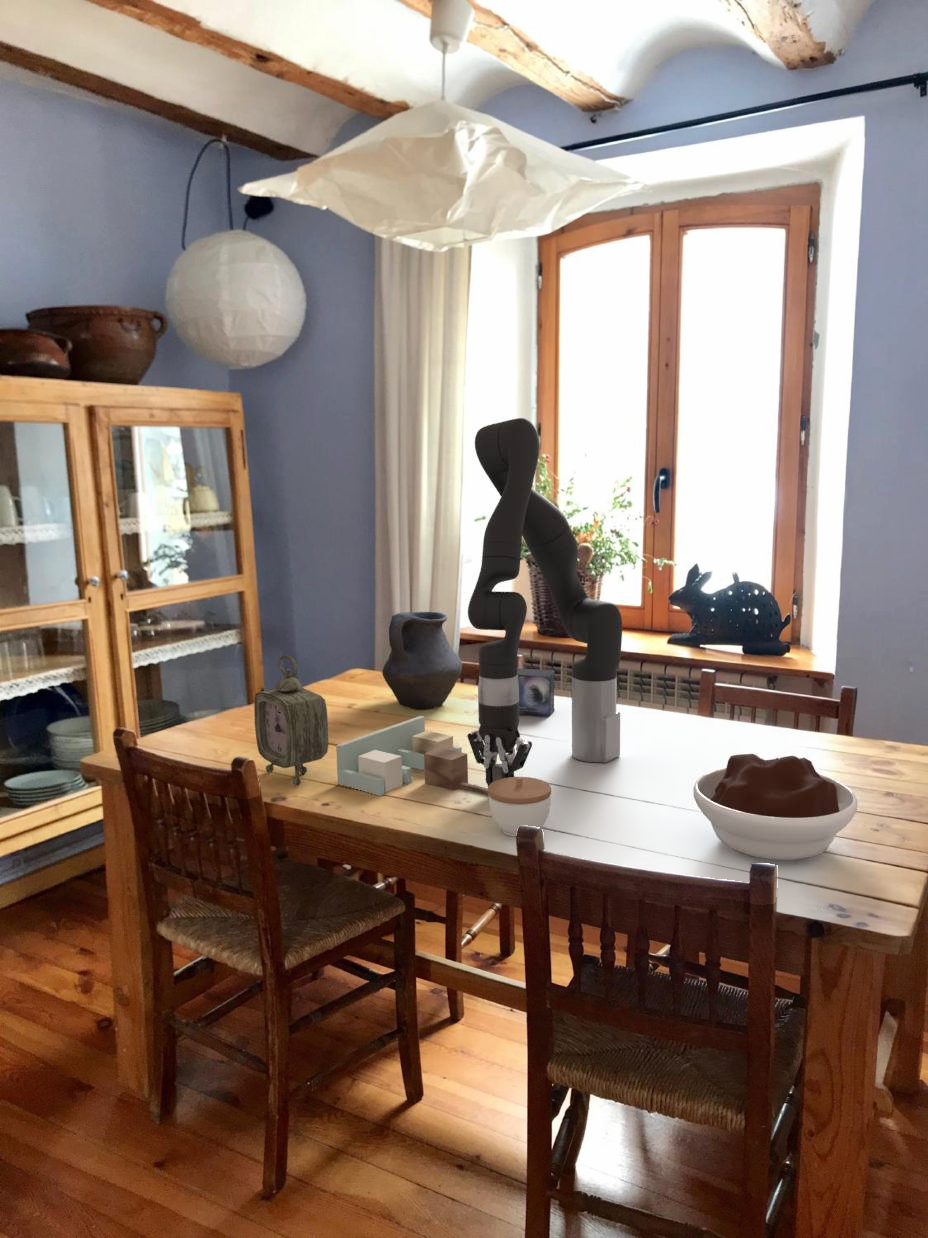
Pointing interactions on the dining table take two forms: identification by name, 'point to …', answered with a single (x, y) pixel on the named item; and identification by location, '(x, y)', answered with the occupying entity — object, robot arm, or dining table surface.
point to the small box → (536, 692)
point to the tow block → (453, 770)
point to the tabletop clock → (290, 724)
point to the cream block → (382, 767)
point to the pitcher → (420, 660)
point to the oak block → (431, 742)
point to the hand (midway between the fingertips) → (499, 788)
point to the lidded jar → (519, 803)
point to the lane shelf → (383, 740)
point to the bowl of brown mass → (774, 806)
